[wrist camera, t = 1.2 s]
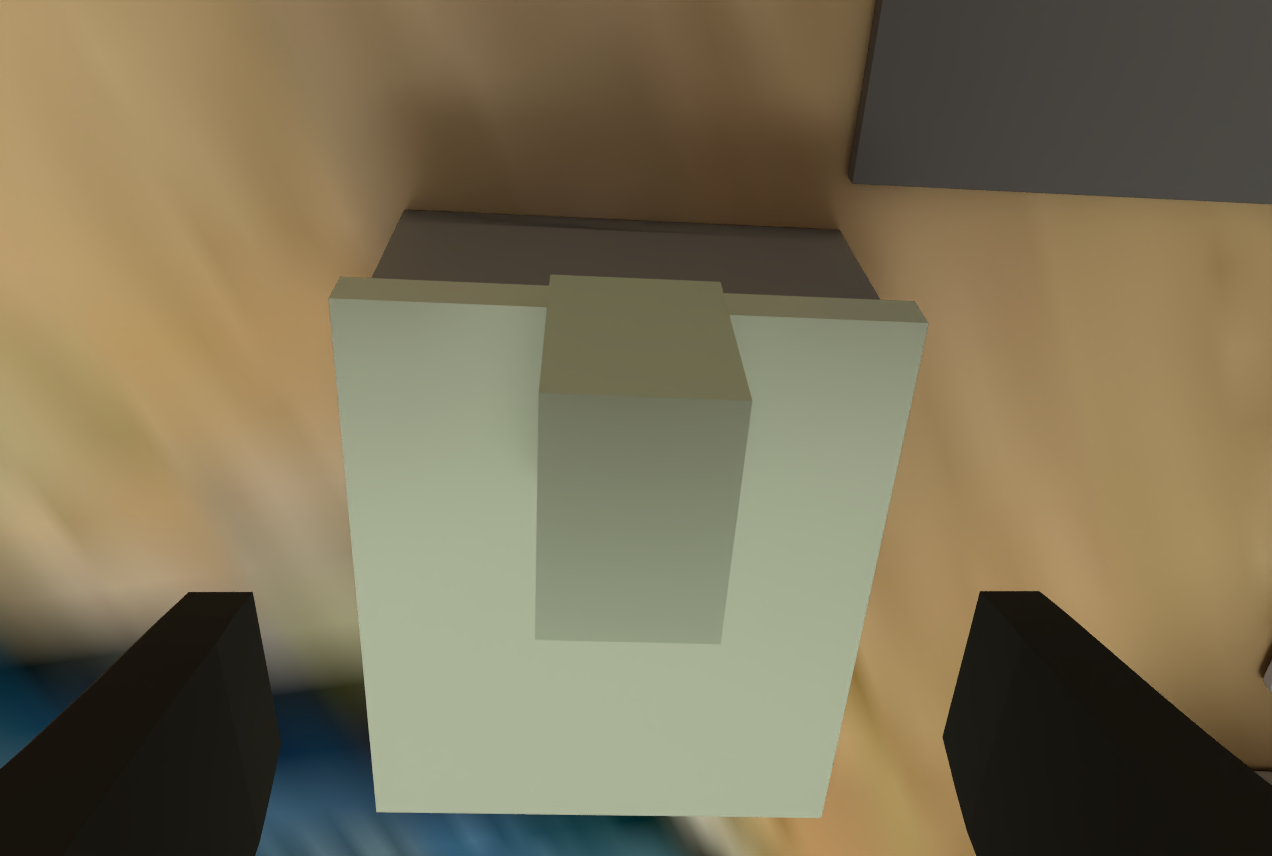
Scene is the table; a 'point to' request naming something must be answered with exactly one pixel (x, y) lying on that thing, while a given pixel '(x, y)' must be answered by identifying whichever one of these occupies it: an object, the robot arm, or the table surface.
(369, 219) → the table surface
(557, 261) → the tub
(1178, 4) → the mat
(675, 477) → the lid
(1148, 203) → the table surface
